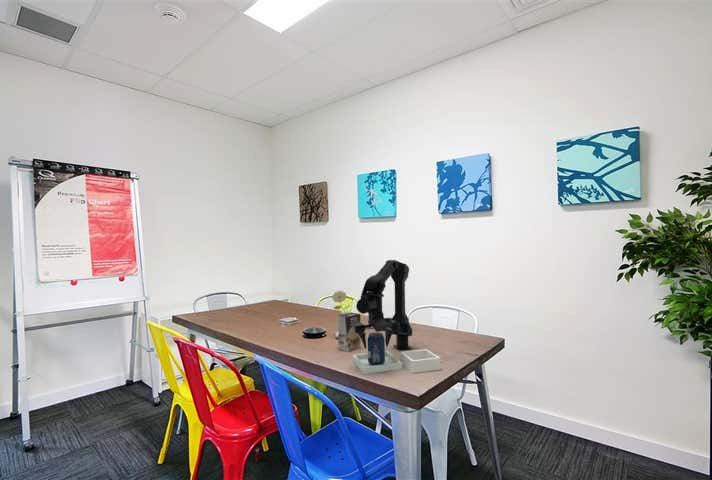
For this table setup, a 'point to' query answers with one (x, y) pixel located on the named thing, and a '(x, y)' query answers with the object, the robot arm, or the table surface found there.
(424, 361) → the pale square open box
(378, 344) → the soda can
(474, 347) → the table surface
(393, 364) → the tray
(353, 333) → the coffee box
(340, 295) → the flower in vase
